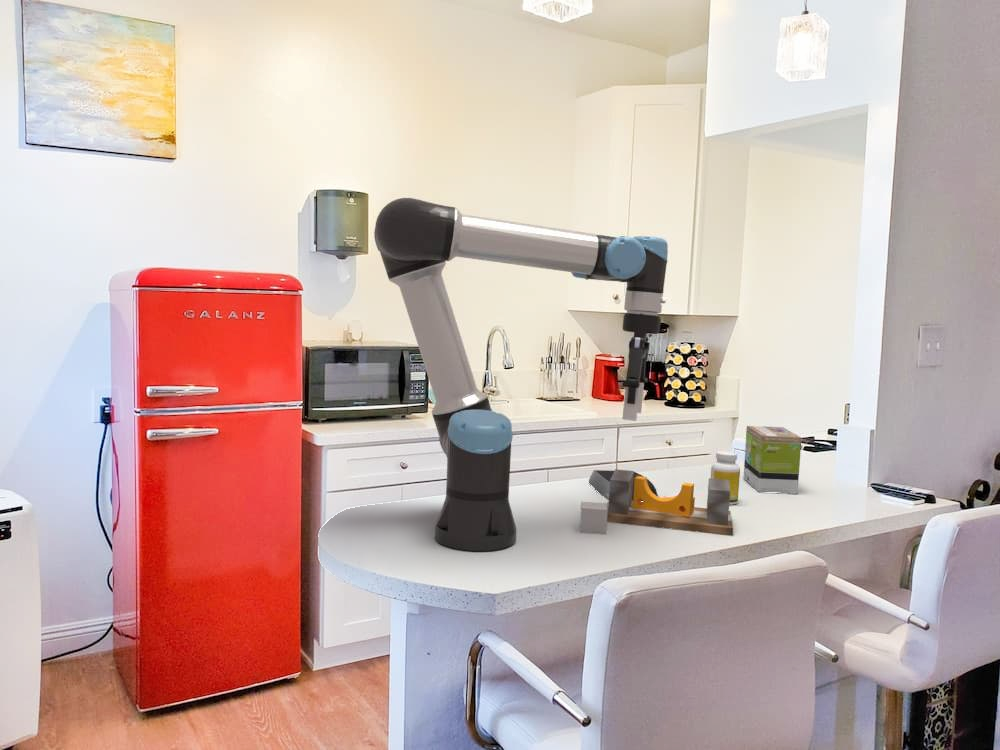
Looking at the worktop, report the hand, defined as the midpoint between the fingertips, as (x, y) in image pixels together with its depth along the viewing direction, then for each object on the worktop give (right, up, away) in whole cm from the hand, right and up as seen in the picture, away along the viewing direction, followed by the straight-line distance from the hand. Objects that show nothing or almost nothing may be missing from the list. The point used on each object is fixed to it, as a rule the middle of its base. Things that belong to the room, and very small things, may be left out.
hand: (632, 416), depth 164 cm
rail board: (+8, -22, +4) cm, 24 cm away
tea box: (+42, -20, +40) cm, 61 cm away
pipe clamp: (+7, -20, +4) cm, 22 cm away
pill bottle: (+25, -21, +21) cm, 39 cm away
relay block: (-9, -22, -7) cm, 25 cm away
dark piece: (+2, -20, +27) cm, 34 cm away
